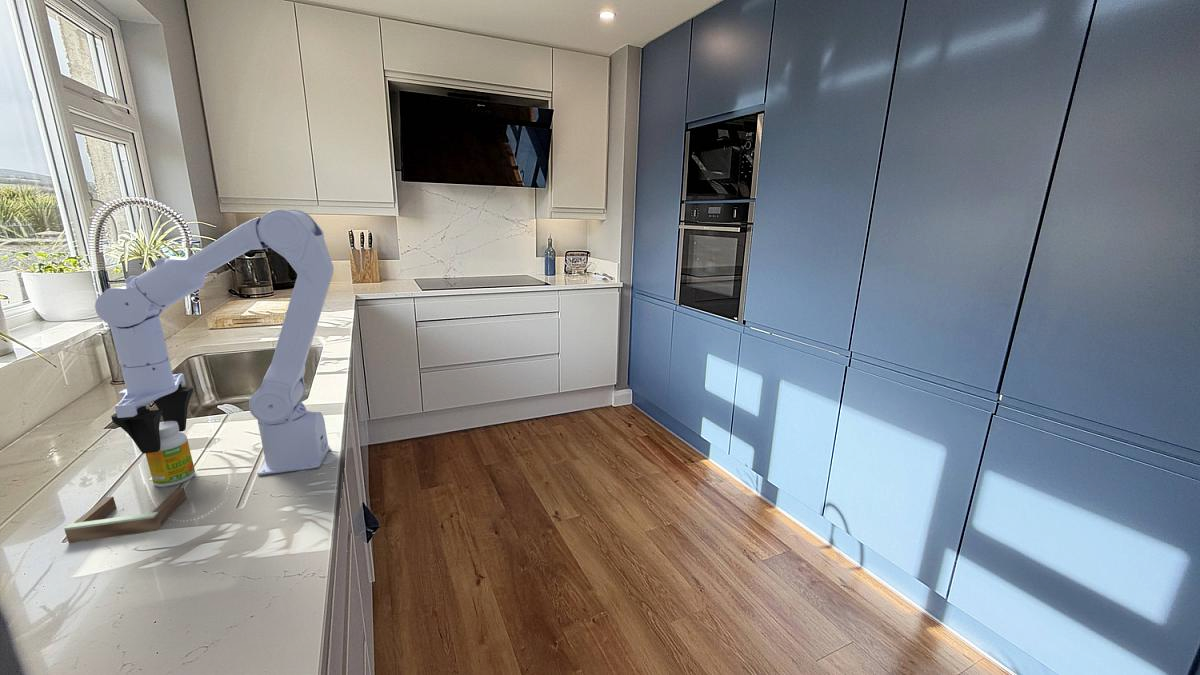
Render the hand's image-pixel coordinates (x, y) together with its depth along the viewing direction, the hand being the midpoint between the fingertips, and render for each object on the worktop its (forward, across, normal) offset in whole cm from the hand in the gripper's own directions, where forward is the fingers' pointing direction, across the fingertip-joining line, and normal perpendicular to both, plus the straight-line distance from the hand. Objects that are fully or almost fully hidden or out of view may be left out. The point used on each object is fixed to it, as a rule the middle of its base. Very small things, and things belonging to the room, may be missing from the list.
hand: (165, 441), depth 80 cm
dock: (+7, +11, 0) cm, 13 cm away
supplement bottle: (+7, 0, 0) cm, 7 cm away
